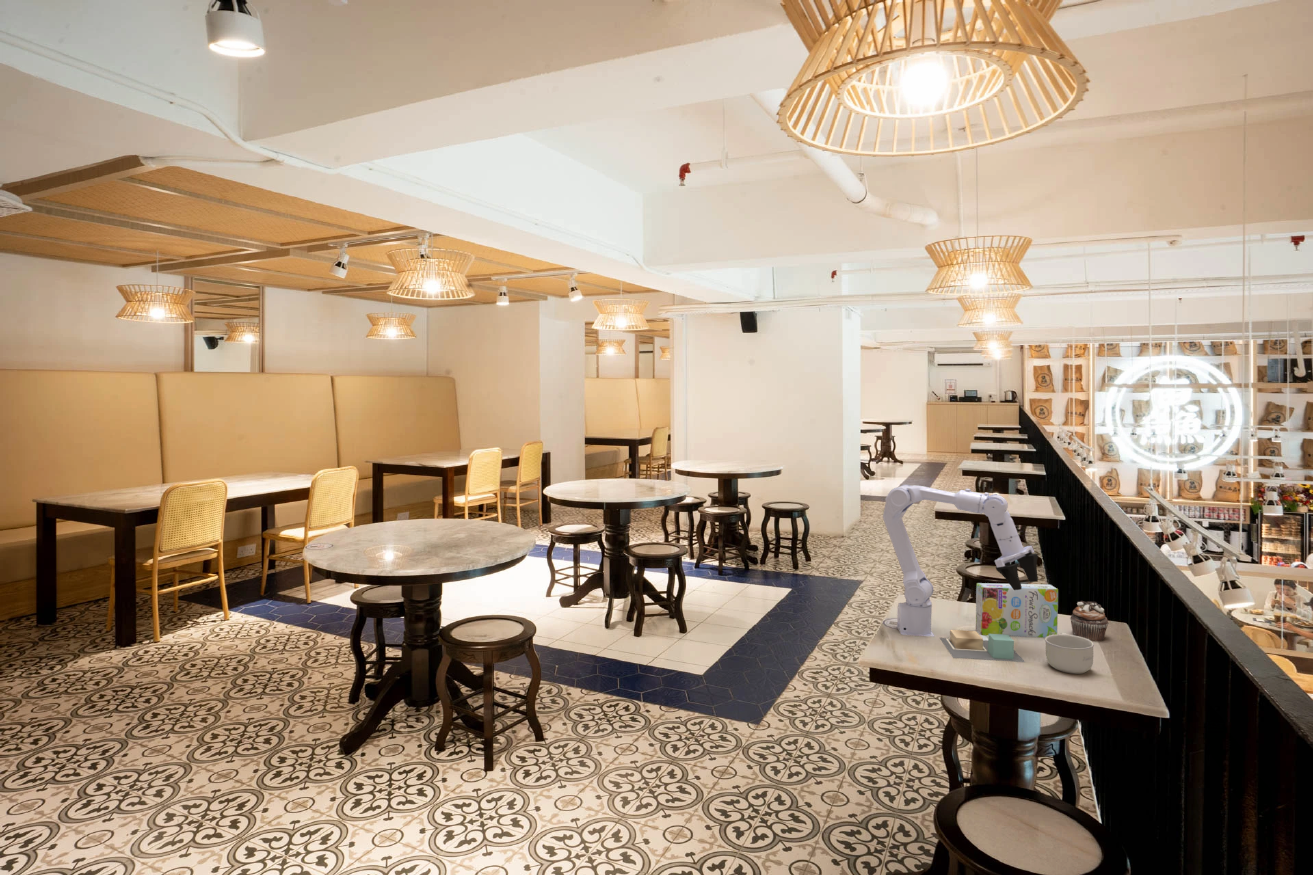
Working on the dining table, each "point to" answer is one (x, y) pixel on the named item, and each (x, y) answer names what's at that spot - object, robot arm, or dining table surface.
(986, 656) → the grey flat slab
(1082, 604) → the cupcake
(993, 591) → the snack box
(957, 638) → the maple base
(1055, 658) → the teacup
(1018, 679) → the dining table surface
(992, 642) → the teal block
